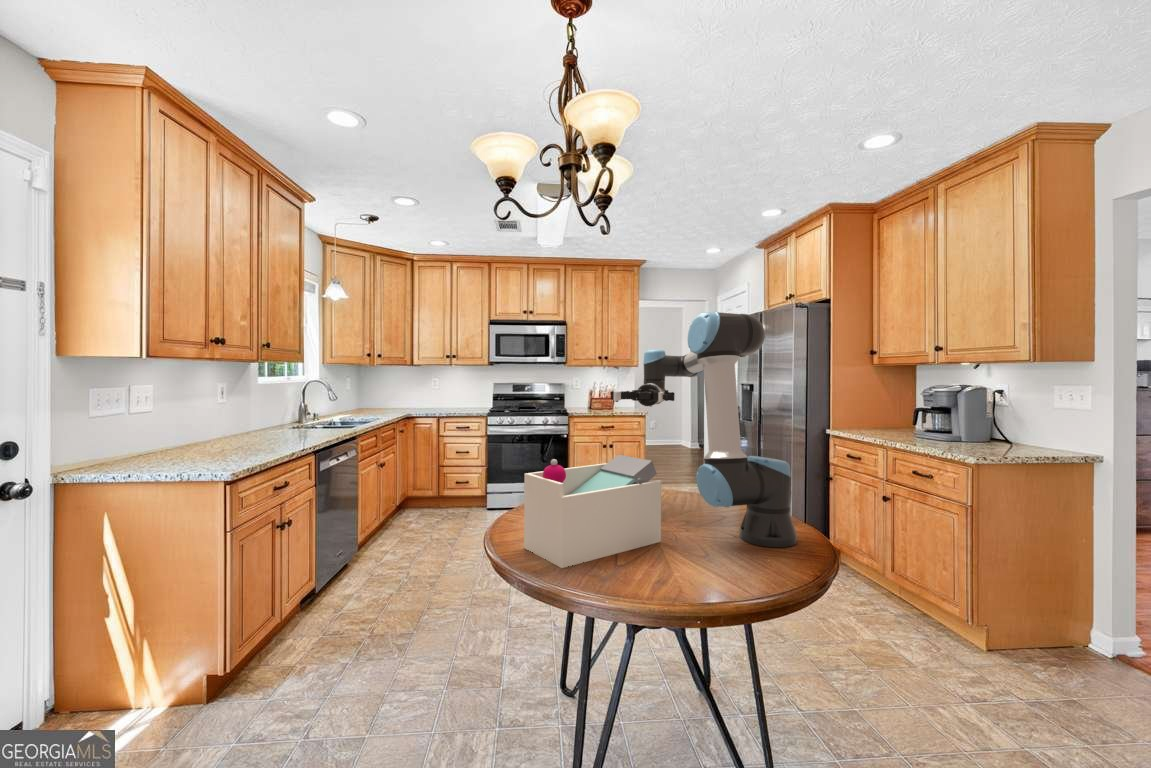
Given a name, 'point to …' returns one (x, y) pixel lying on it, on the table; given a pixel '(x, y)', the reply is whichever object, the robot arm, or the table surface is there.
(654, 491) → the frame
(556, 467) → the pepper mill
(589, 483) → the trapdoor
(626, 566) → the table surface
